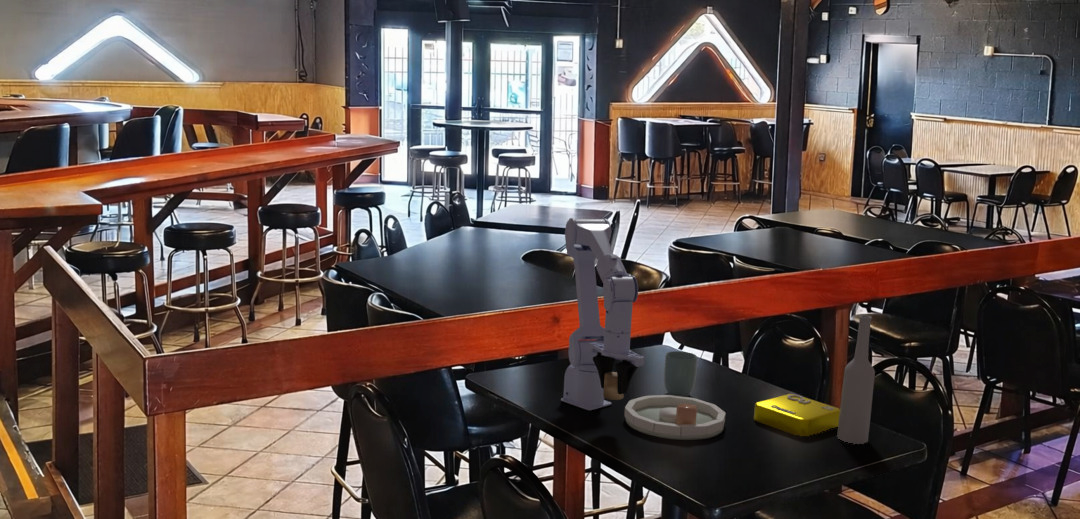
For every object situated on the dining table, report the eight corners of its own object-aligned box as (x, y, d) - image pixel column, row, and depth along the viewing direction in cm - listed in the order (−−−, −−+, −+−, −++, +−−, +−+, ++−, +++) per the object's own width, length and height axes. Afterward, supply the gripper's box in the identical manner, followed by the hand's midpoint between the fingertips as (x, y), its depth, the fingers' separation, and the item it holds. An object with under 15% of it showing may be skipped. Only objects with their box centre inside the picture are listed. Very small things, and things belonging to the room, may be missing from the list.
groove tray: (605, 419, 237) (606, 406, 236) (666, 401, 252) (667, 389, 251) (682, 447, 221) (683, 433, 221) (743, 426, 236) (744, 413, 236)
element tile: (749, 420, 242) (751, 400, 242) (789, 409, 252) (791, 390, 251) (803, 439, 231) (805, 418, 230) (843, 427, 241) (845, 407, 240)
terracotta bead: (671, 427, 230) (672, 405, 229) (683, 423, 233) (685, 402, 232) (687, 433, 227) (688, 411, 226) (699, 429, 230) (701, 407, 229)
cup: (693, 400, 254) (696, 361, 252) (661, 397, 255) (664, 357, 253) (695, 391, 261) (698, 353, 259) (664, 388, 263) (666, 349, 261)
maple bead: (599, 396, 231) (600, 374, 230) (612, 392, 234) (614, 370, 233) (613, 401, 228) (615, 379, 227) (627, 397, 231) (628, 375, 230)
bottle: (850, 445, 227) (863, 320, 222) (830, 435, 233) (843, 313, 228) (874, 443, 230) (888, 319, 225) (854, 433, 236) (867, 312, 231)
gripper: (581, 325, 230) (577, 385, 233) (630, 340, 220) (626, 402, 223) (602, 321, 235) (599, 379, 238) (652, 335, 225) (647, 396, 227)
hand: (613, 390), depth 230 cm, fingers closed on maple bead, 4 cm apart
